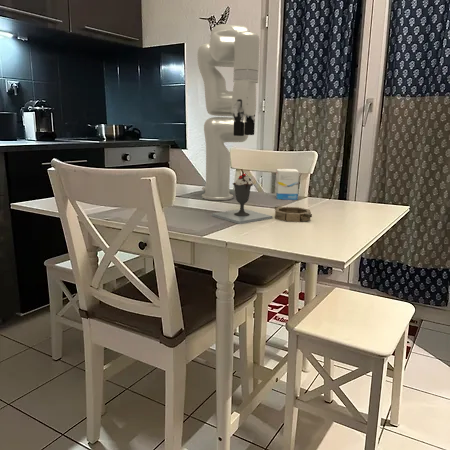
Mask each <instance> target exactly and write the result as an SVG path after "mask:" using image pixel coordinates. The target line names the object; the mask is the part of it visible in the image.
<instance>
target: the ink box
mask: <svg viewBox="0 0 450 450" xmlns="http://www.w3.org/2000/svg"><path fill="white" fill-rule="evenodd" d="M275 174H276V175H275V188H274V196H276V197H275V199H276V200H278V199H279V200H280V199H282V200H286V201H287V200H289V201H297V200H298V195H299V178H300V177H299V176H300V171H299V170H298V169H297V168H276V169H275Z"/></svg>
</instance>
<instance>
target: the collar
mask: <svg viewBox="0 0 450 450" xmlns="http://www.w3.org/2000/svg"><path fill="white" fill-rule="evenodd" d="M274 211H275V212H274V219H275V220H279V221H282V222H290V223H291V222H293V223H301V222H302V223H304V222H308V221H309V222H310V221H311V218H312V217H313V214H312V212H311V209H308V208H304V207H299V206H298V207H297V206H283V207H282V206H274Z"/></svg>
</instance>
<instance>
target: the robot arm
mask: <svg viewBox="0 0 450 450" xmlns="http://www.w3.org/2000/svg"><path fill="white" fill-rule="evenodd" d="M209 37H210V40H209V42H206V43H203V44H201V45H199V47H198V49H197V54H196V55H197V56H196V57H197V59H196V60H197V65H198V69H199V72H200V74H201V78H202V80H203V86H204V98H205V107H206V108H205V109H206V112H207V113H208V114H209V115H211V116H213V117H209V118H208V119H206V120H205V122H204V125H203V133H204V141H205V185H204V186H203V187H202V188H201V189H202V190H203V191H204V193H202V194H201V198H202V199H205V200H208V201H209V200H210V201H228V200H233V198H234V195H233V194H232V193H230V184H231V183H230V181H231V180H230V179H231V177H230V175H231V153H230V151H229V149H228V148H227V146H226V145H225V143H244V142H246V141H247V140H248V138H249V136H254V135H255V127H256V126H255V123H256V118H255V117H256V113H257V112H256V111H257V84H258V83H259V70H260V68H259V67H260V43H261V42H260V41H261V39H260V36H259V35H258V33H255V32H251V31H250V29H249V28H248V26H246V25H243V24H241V25H240V24H228V23H221V24H217V25H215V26H214V27H213V28H212V29H211V31H210V36H209ZM217 67H219V68H221V67H222V68H233V80H232V81H233V87H232V91H231V90H230V91H229V90H227V84H226V79H225V77H224V76H223V74H222V73H221V71H220V70H218V69H217Z"/></svg>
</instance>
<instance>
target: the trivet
mask: <svg viewBox="0 0 450 450" xmlns="http://www.w3.org/2000/svg"><path fill="white" fill-rule="evenodd" d="M239 211H240V209H233V210H227V211H220V212H219V211H218V212H212V213H211V217H214V218H218V219H222V220H225V221H228V222H230V223H231V222H232V223H234V224H237V225H242V224H247V223H248V224H249V223H254V222H261V221H265V220H270V219H273V217H274V216H273V215H271V214H266V213H262V212H258V211H255V210H250V209H246V208H244V211H245V212H246V213H248V214H249V215H248V216H236V215H234V214H235V213H238V212H239Z"/></svg>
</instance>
